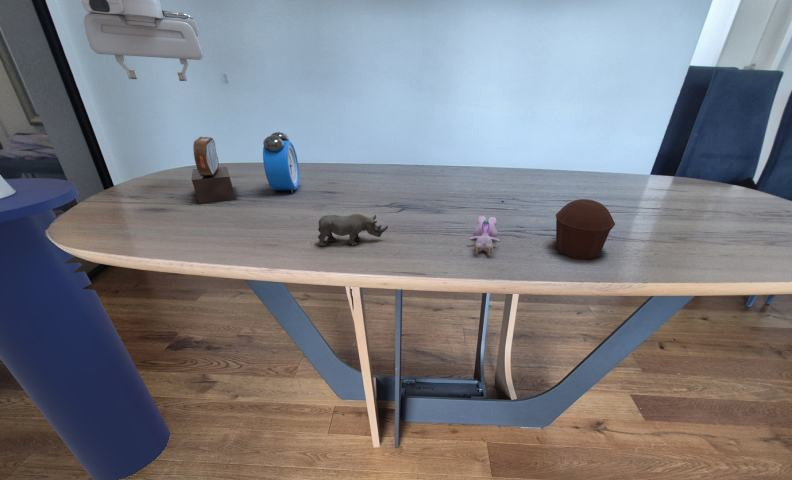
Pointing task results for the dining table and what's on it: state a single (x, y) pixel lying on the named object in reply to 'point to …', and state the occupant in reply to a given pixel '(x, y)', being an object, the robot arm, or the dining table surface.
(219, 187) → the walnut block
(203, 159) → the tin
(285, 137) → the alarm clock
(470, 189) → the dining table surface
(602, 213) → the muffin
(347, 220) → the rhino figurine
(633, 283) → the dining table surface
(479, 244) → the rabbit figure
